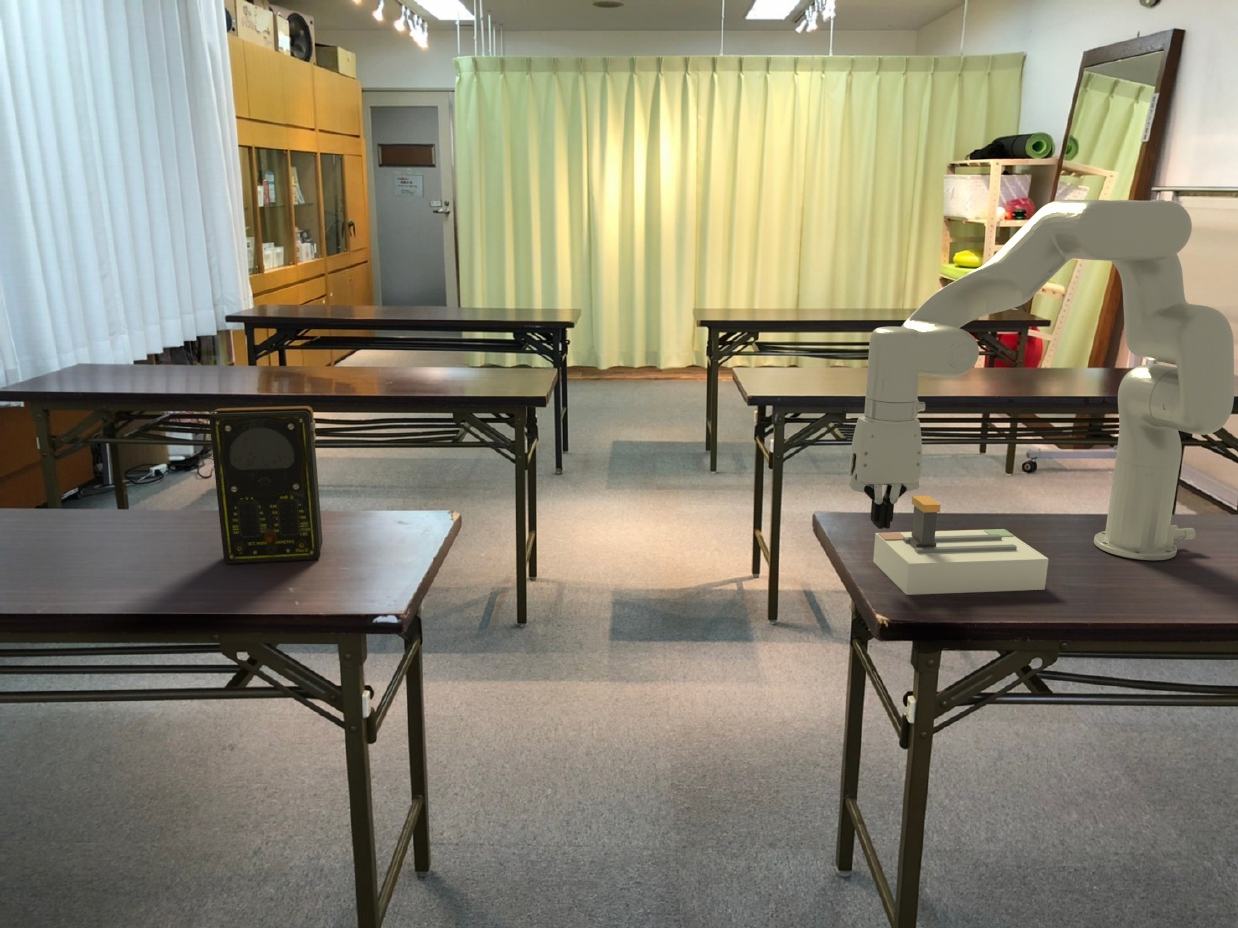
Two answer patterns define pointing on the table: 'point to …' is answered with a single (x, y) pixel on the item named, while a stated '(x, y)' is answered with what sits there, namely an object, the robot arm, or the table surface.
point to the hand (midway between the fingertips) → (881, 525)
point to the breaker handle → (924, 521)
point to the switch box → (961, 562)
